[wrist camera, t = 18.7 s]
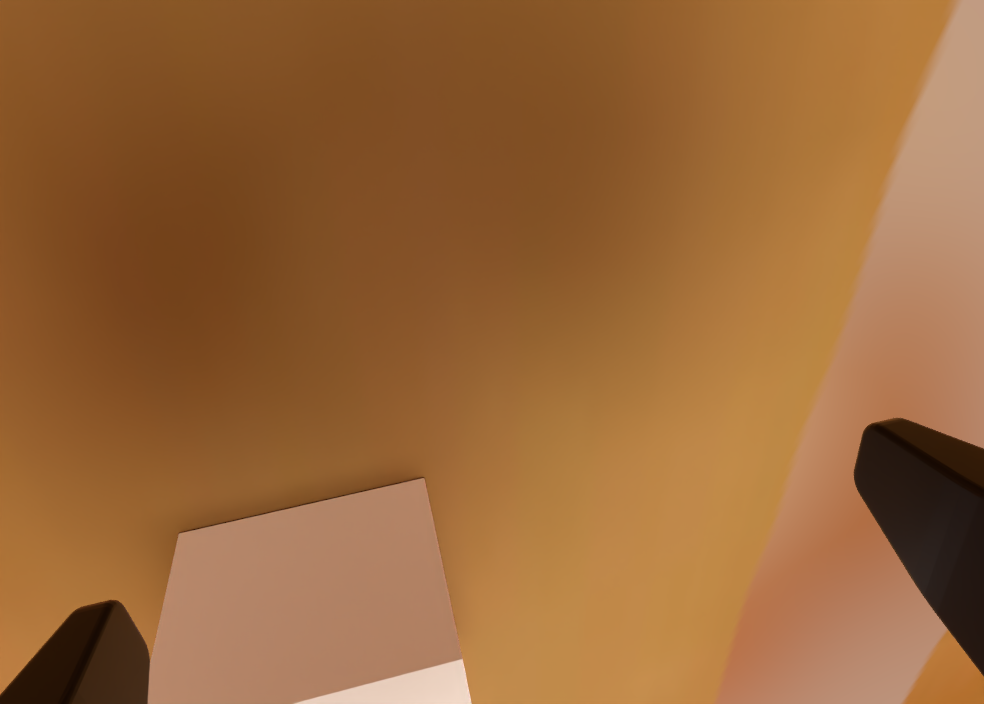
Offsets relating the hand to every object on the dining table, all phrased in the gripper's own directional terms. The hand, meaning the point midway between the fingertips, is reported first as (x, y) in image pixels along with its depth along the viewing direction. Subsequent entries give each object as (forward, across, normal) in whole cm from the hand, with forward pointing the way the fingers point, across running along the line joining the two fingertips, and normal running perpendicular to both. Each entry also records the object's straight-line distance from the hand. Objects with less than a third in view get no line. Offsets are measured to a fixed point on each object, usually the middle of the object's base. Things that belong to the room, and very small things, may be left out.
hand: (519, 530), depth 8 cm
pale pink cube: (+12, +5, +13) cm, 18 cm away
